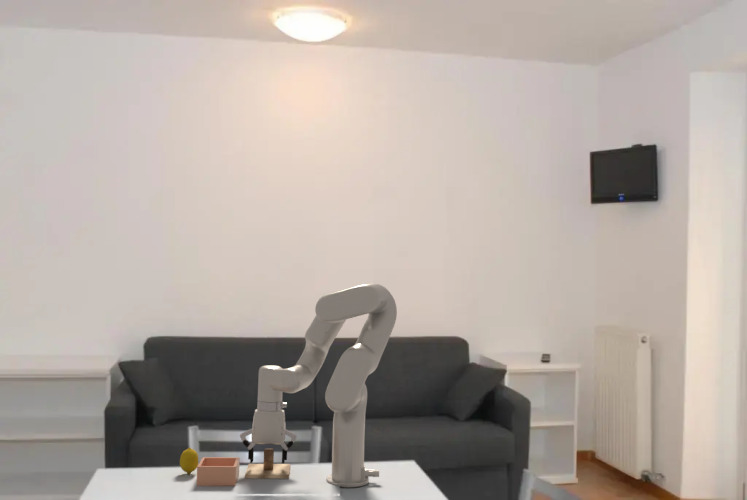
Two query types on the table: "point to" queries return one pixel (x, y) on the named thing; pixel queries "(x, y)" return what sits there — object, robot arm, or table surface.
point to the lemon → (189, 460)
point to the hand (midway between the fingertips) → (267, 462)
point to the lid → (268, 468)
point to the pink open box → (218, 471)
